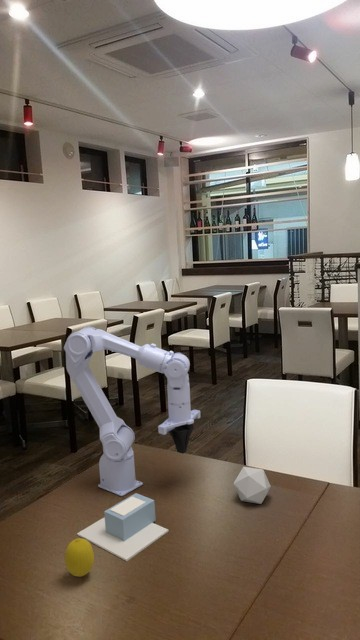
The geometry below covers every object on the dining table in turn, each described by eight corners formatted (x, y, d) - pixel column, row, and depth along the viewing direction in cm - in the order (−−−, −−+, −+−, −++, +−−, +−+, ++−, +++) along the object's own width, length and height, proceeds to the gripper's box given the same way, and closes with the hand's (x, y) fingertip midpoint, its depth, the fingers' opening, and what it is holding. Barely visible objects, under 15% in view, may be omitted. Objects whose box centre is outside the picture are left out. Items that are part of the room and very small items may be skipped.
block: (137, 512, 118) (105, 532, 110) (135, 491, 117) (104, 510, 110) (155, 520, 114) (124, 541, 106) (154, 499, 113) (122, 518, 106)
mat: (77, 534, 110) (77, 533, 110) (119, 509, 120) (119, 508, 120) (126, 561, 100) (126, 559, 100) (168, 531, 110) (168, 529, 110)
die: (275, 497, 124) (257, 461, 127) (277, 496, 116) (258, 458, 119) (245, 511, 123) (228, 474, 127) (246, 511, 115) (228, 472, 119)
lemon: (100, 569, 98) (97, 532, 97) (86, 588, 93) (83, 549, 92) (76, 565, 100) (72, 528, 99) (61, 582, 95) (57, 544, 94)
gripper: (172, 412, 118) (175, 465, 120) (208, 396, 129) (210, 445, 131) (150, 407, 122) (154, 458, 124) (187, 392, 133) (190, 440, 135)
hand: (181, 451), depth 128 cm, fingers closed
